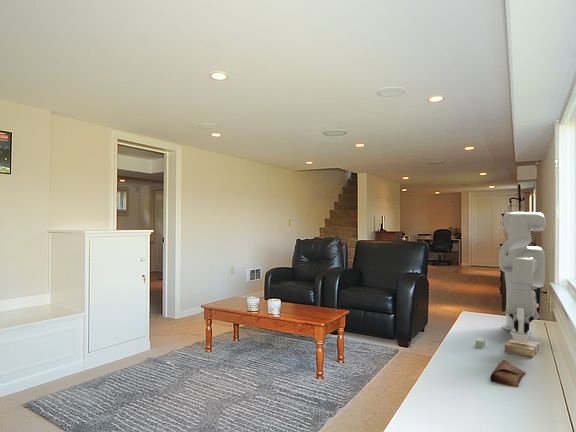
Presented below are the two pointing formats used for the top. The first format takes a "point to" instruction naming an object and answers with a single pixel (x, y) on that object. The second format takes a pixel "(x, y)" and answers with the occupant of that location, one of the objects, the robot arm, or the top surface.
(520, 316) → the figurine
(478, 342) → the brick sage
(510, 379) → the sunglasses case
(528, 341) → the brick slate
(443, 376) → the top surface
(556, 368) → the top surface
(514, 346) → the oak pedestal
